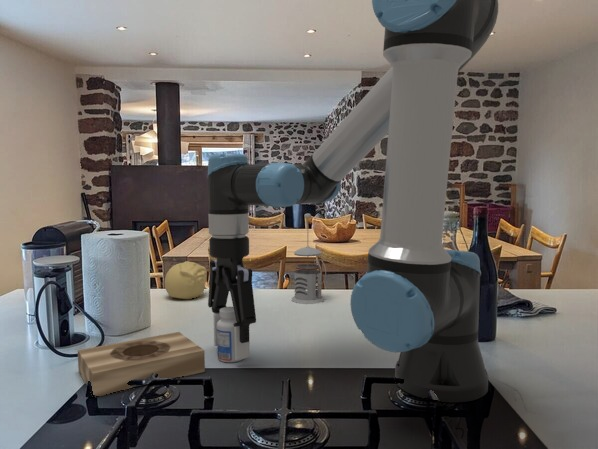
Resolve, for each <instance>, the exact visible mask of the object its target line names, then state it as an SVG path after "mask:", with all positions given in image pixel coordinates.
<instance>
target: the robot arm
mask: <svg viewBox="0 0 598 449" xmlns="http://www.w3.org/2000/svg"><path fill="white" fill-rule="evenodd" d="M371 5H372V10H373V12H374V15H375V17H376V18H377V20H378V22H379V23H380V25H381V26H382V28H384V38H383V48H382V49H383V50H382V51H383V52H382V55H383V58H384V59H385V60H386V61H387V62H388V63H389V64H390V65H391V67H390V68H389V69H388V70H387V71H386V72H385V73H384V75H383V76H381V78H380V79H379V80H378V81H377V82H376V84H375V85H374V86H373V87H372V88H370V90H369V91H368V92H367V93H366V94H365V96H364V97H363V98H362V99H361V100H360V101H359V103H358V104H356V106H355V107H354V108H353V109H352V110H351V111H350V112H349V113H348V114H347V116H346V117H345V118H344V119H343V120H342V121H341V122H340V123H339V124H338V126H337V127H335V129H334V130H333V131H332V132H331V133H330V134H329V135H328V137H327V138H325V140H324V141H323V142H322V143H321V144H320V146H319V147H318V148H317V149H316V150H315V151H314V152H313V153H312V154H311V156H309V157H308V158H307V159H306V160H305V162H303V163H301V164H299V163H298V164H297V163H296V164H295V163H294V164H292V163H289V162H288V163H285V162H269V163H268V162H267V163H254V164H252V163H251V164H249V158H248V156H247V155H246V154H243V153H214V154H212V155H210V156H209V158H208V161H207V176H206V179H207V191H208V192H207V194H208V195H207V197H208V200H207V201H208V234H209V235H211V237H209V238H208V239H209V240H208V241H209V242H208V243H209V256H210V257H212V258H214V259H216V260H209V283H208V284H209V285H208V298H207V299H208V300H207V301H208V302H207V307H208V309H209V308H211V312H212V313H213V345H214V346H215V347H217V322H218V321H219V320H220V319H221V318H220V316H219V315H220V309H221V308H224V307H228V306H227V301H228V298H229V294H230V299H231V302H232V307H233V308H234V312H235V317H236V322H237V323H235V324H233V325H234V334H235V359H236V360H240V359H243V360H244V359H249V358H250V357H251V356H250V355H251V354H250V353H251V352H250V350H251V349H250V325H251V324H252V325H253V324H256V322H257V318H256V309H255V308H256V307H255V306H256V305H255V298H254V289H253V270H252V269H251V268H248V269H246V268H245V266H244V261H243V259H244V258H245V257H248V256H249V255H250V238H249V237H248V234H249V232H250V231H249V229H250V227H249V224H250V223H249V222H250V220H251V219H250V217H249V212H250V211H249V206H259V207H271V208H275V209H276V208H286V207H292V206H294V205H302V204H304V205H305V204H306V205H307V204H315V205H316V204H318V205H319V204H322V203H326V202H330V201H332V200H333V199H335V198H336V197H337V196H338V194H339V192H340V190H341V189H340V188H341V186H342V182H341V181H343V179H344V178H345V177H346V176H348V175H349V173H350V172H351V171H352V170H353V169H354V168H355V167H356V166H357V165H358V164H360V162H362V160H363V159H364V158H365V157H366V156H368V154H369V153H370V152H371V151H372V150H373V149H374V148H375V147H376V146H378V145H379V143H381V141H382V140H383V139H384V138H385V137H386V136H387V146H386V157H385V172H384V185H383V196H382V208H381V223H380V234H379V239H378V240H377V242H376V243H374V244H373V245H372V246H371V247H369V249H368V253H367V254H368V255H367V265H366V267H367V268H366V273H365V274H363V275H362V277H360V278H359V280H358V281H357V282H356V283H355V284H354V286H353V288H352V291H351V295H350V311H351V316H352V319H353V321H354V324H355V325H356V327H357V329H358V330H360V331H361V333H362V334H363V336H364V338H365V339H366V340H367V341H368V342H370V344H372V345H374V346H375V347H377V348H379V349H381V350H383V351H387V352H390V353H399V357H398V360H397V361H396V364H395V367H394V368H395V369H394V371H395V372H394V378H395V377H396V378H401V379H404V383H403V384H396V385H397V386H398V387H399V389H401V390H402V391H404V392H406V393H408V394H409V395H412V396H415V397H418V398H420V397H421V399H424V398H427V397H428V392H429V391H430V390H432V391H434V393H435V394H436V395H437V397H438V398H439V400H440V401H441V403H442V402H443V403H467V402H471V401H475V400H478V399H481V398H482V397H484V396H485V395H486V394H487V393H488V392H489V373H488V372H487V370H486V366H485V362H484V358H483V355H482V351H481V348H480V344H479V320H480V319H479V318H480V316H479V315H480V313H479V312H480V292H481V291H480V288H481V276H482V271H481V262H480V257H479V255H478V254H477V253H475V252H472V251H466V250H458V249H457V250H456V249H455V250H454V249H446V248H444V246H443V231H444V221H445V220H444V219H445V211H446V202H447V190H448V182H449V169H450V158H451V148H452V140H453V139H452V138H453V129H454V128H453V126H454V118H455V117H454V115H455V108H456V107H455V105H456V94H457V86H458V85H457V84H458V77H459V76H458V75H459V74H458V73H460V71H461V70H463V68H465V67H466V65H468V63H469V62H470V61H472V60H473V58H474V57H475V56H476V55H477V54H478V52H479V51H480V50H481V48H482V47H483V46H484V45H485V44H486V42H487V41H488V39H489V38H490V37H491V34H492V33H493V30H494V28H495V25H496V23H497V21H498V20H497V18H498V14H499V0H371ZM440 401H439V402H440Z"/></svg>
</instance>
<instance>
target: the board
mask: <svg viewBox="0 0 598 449" xmlns="http://www.w3.org/2000/svg"><path fill="white" fill-rule="evenodd" d="M205 355H206V354H205V349H204V348H203V347H201V346H199V344H196V343H195V342H194V341H192V340H191V339H189V338H188V337H187V336H185V335H184V334H183V333H181V332H180V331H177V332H171V333H166V334H158V335H154V336H149V337H144V338H142V337H141V338H137V339H133V340H132V339H131V340H126V341H122V342H115V343H110V344H105V345H98V346H94V347H87V348H83V349H78V350H77V363H78V364H77V367H78V373H79V375H80V377H81V378H82V380H83V381H84V384H85V385H86V384H87V382H88V381H90V382H91V386H92V391H93V395H96V396H99V397H102V396H107V395H111V394H110V393H112V394H114V393H113V392H116V391H120V390H124V391H126V390H125V389H129V388H132V387H133V386H130V385H128V384H127V383H128V382H129V381H131V380H134V379H146V378H147V377H149V376H150V375H151V374H152V373H157V374H158V377H161V378H171V377H180V378H183V377H182V376H184V377H187V376H192V375H196V374H201V373H204V372H206V366H205V364H206V362H205V361H206V360H205V358H206V357H205ZM129 390H130V389H129ZM120 392H121V391H120ZM116 393H117V392H116ZM106 394H107V395H106Z"/></svg>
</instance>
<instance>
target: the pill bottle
mask: <svg viewBox="0 0 598 449" xmlns="http://www.w3.org/2000/svg"><path fill="white" fill-rule="evenodd" d="M219 316H220V318H221V319H220V320H219V321H218V322H217V346H216V347H217V348H216V349H217V359H218V360H219V361H220V362H223V363H237V362H240V361H242V360H244V359H240V360H236V359H235V334H234V325H233V324H235V323H237V322H236V317H235V312H234V308H233V306H227V307H224V308H221V309H220V315H219Z"/></svg>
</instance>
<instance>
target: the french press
mask: <svg viewBox="0 0 598 449" xmlns="http://www.w3.org/2000/svg"><path fill="white" fill-rule="evenodd" d="M304 218H307V222H306V223H307V225H306V226H307V227H306V228H307V230H306V231H307V238H306V239H307V241H306V242H307V246H306V247H301V248H299V249H297V250H295V251H294V252H293V254H294V256H297V257H319V256H321V255H322V254H323V252H322V251H321V250H319V249H318V248H315V247H312V246H309V218H312V214H311V213H305V214H304ZM313 261H314V264H310V263H307V264H304V263H303V264H302V263H301V264H297V265H296V266H295V269H296V270H295V271H294V274H293V275H294V276H293V277H294V296H292V297H291V299H292V300H291V301H292V302H293V301H294V303H296V302H297V303H296V304H301V305H302V304H303V305H309V304H310V305H314V304H320V303H323V302H324V301H325V300H326V299H325V297H323V296H322V285H323V284H324V282H325V281H326V277H327V267H326V265H325V263H324V261H323V259H321V258H318V260H317V259H314V260H313ZM320 261H321V262H322V264H323V267H324V271H325V272H324V279H323V281H322V276H323V274H322V267H321V264H320ZM316 262H317V263H316ZM319 269H320V270H319Z"/></svg>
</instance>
